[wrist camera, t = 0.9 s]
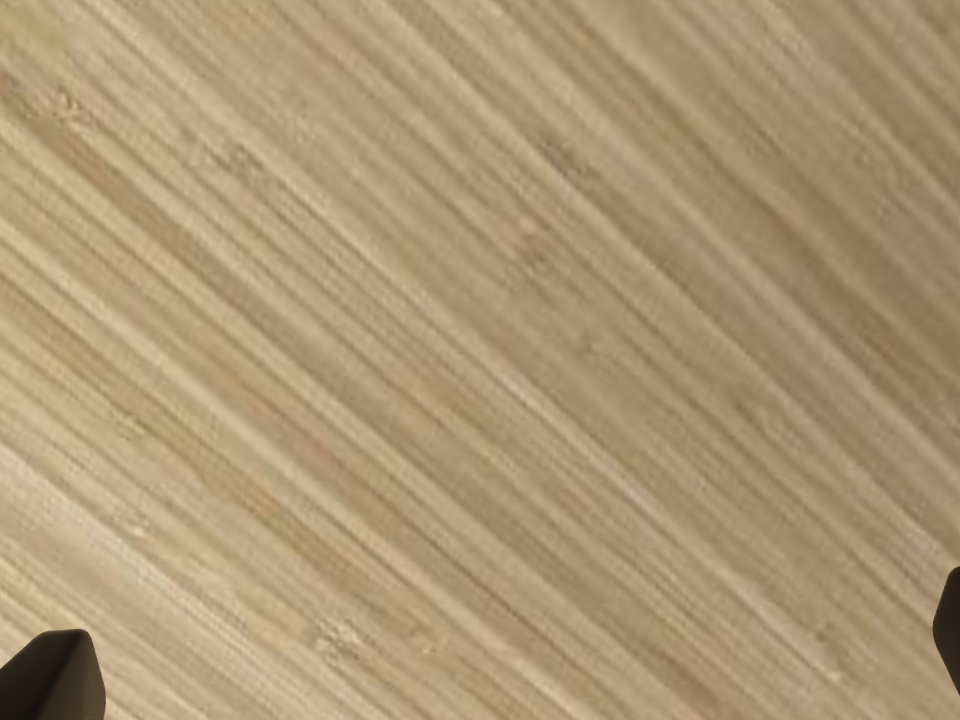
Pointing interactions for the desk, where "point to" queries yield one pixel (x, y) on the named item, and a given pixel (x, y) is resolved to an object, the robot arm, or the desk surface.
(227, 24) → the desk surface
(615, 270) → the desk surface
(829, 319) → the desk surface
